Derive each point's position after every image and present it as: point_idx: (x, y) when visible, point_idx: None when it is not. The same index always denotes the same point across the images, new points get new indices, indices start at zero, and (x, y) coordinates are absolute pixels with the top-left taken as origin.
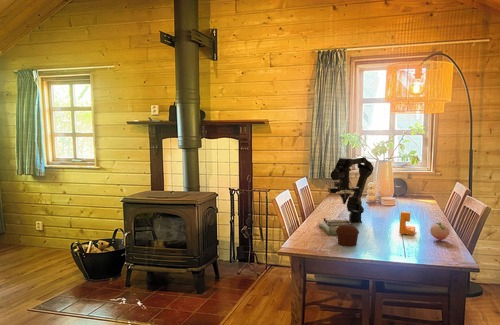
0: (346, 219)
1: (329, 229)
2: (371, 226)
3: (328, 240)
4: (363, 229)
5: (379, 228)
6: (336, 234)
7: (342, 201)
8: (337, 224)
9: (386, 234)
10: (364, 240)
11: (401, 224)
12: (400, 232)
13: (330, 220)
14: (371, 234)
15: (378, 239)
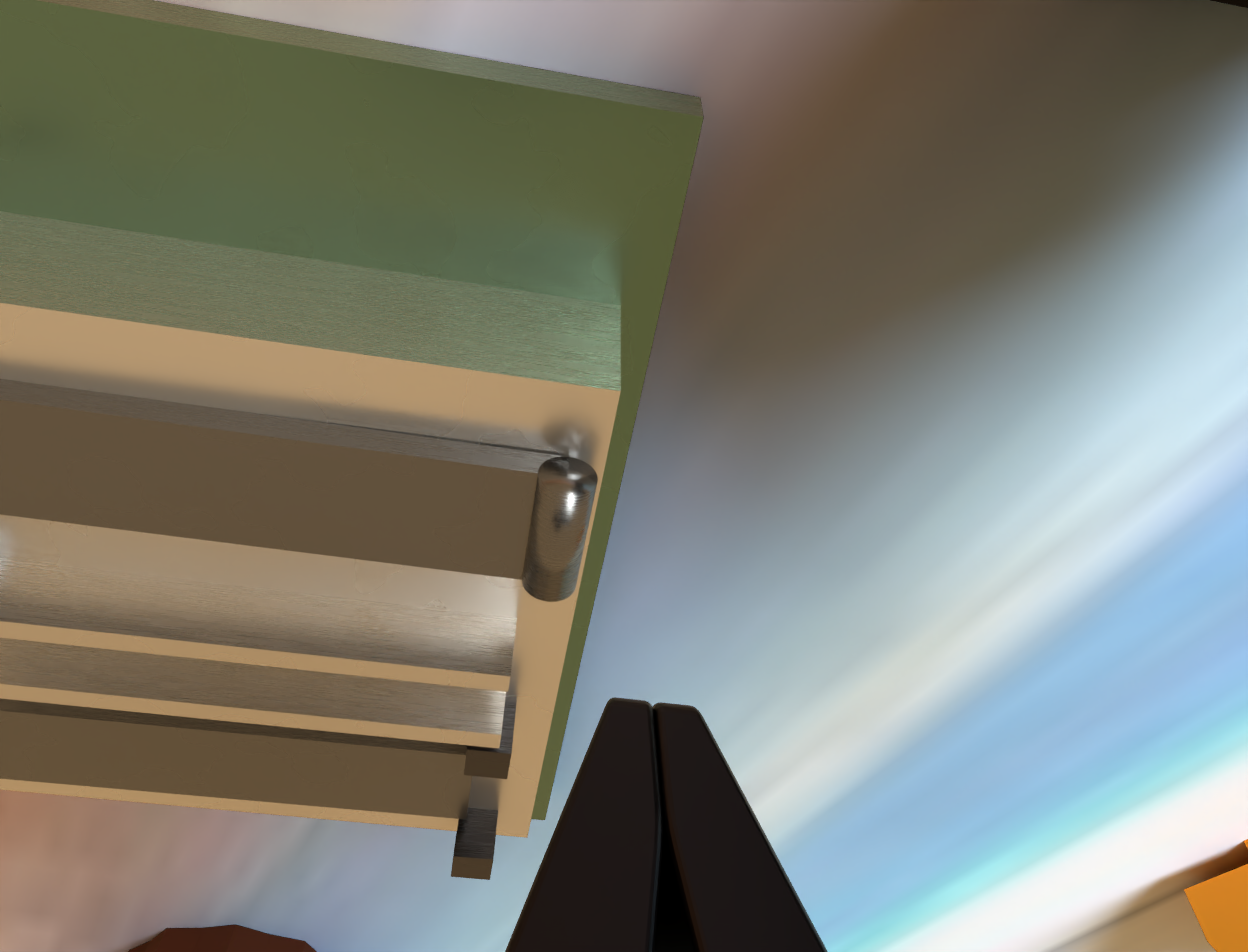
0: (548, 585)
1: None
2: (1237, 449)
3: (4, 869)
4: (868, 588)
5: (1235, 602)
6: None
7: (552, 842)
8: (176, 782)
9: (1004, 840)
10: None
11: None
12: (1199, 907)
13: (5, 632)
14: (784, 805)
15: None
